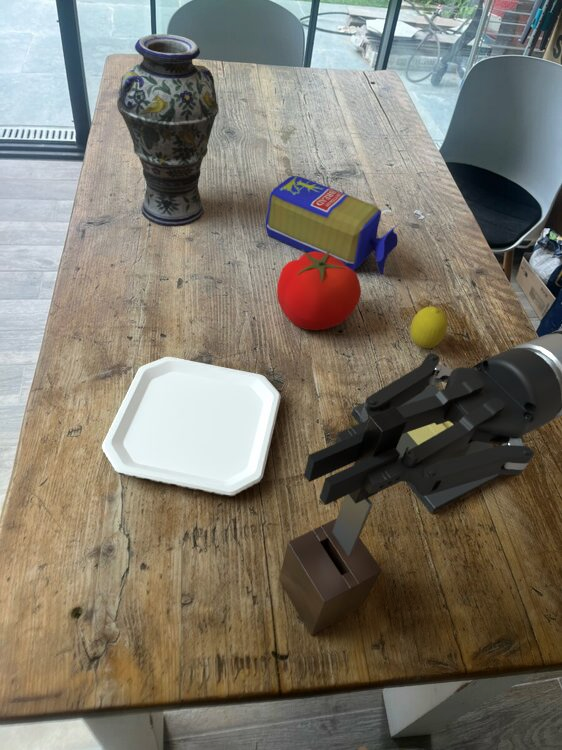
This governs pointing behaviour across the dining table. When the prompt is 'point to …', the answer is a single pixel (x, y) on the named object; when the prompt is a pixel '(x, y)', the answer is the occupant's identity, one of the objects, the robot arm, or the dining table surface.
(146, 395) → the plate
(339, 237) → the bread
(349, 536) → the knife
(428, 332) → the lemon
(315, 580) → the knife block
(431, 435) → the butter slice
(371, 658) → the dining table surface
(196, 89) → the vase
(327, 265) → the tomato
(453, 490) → the board
